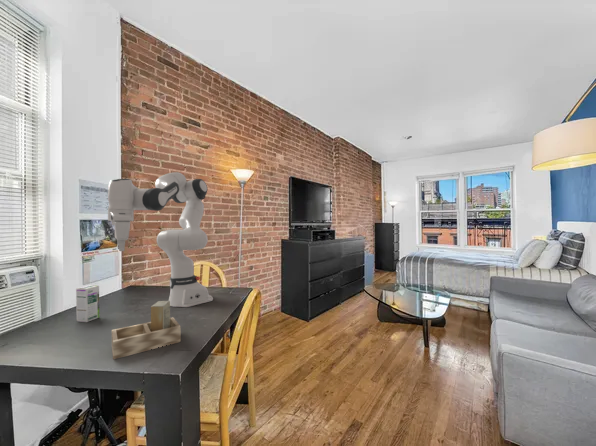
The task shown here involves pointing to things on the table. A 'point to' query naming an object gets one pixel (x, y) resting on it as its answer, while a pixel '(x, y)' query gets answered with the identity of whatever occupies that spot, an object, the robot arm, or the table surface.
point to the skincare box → (160, 315)
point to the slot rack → (143, 338)
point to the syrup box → (87, 303)
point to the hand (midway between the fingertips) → (121, 250)
